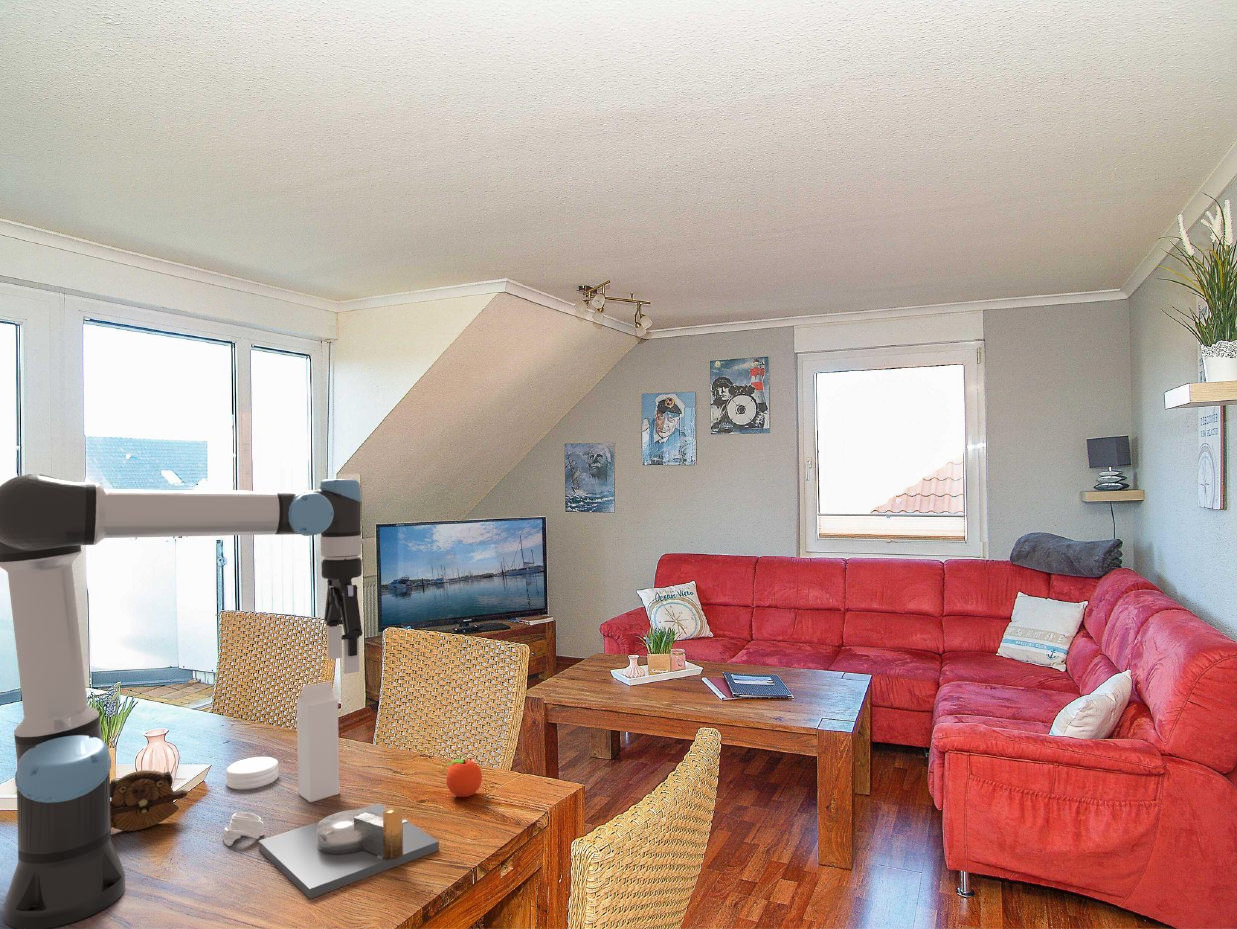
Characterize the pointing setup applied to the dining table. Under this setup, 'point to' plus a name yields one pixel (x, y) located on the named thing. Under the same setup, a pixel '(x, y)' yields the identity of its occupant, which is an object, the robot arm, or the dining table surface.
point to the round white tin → (252, 773)
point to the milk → (318, 742)
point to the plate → (337, 857)
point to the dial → (362, 833)
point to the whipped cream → (243, 827)
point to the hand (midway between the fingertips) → (342, 665)
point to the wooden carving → (142, 800)
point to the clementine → (464, 778)
